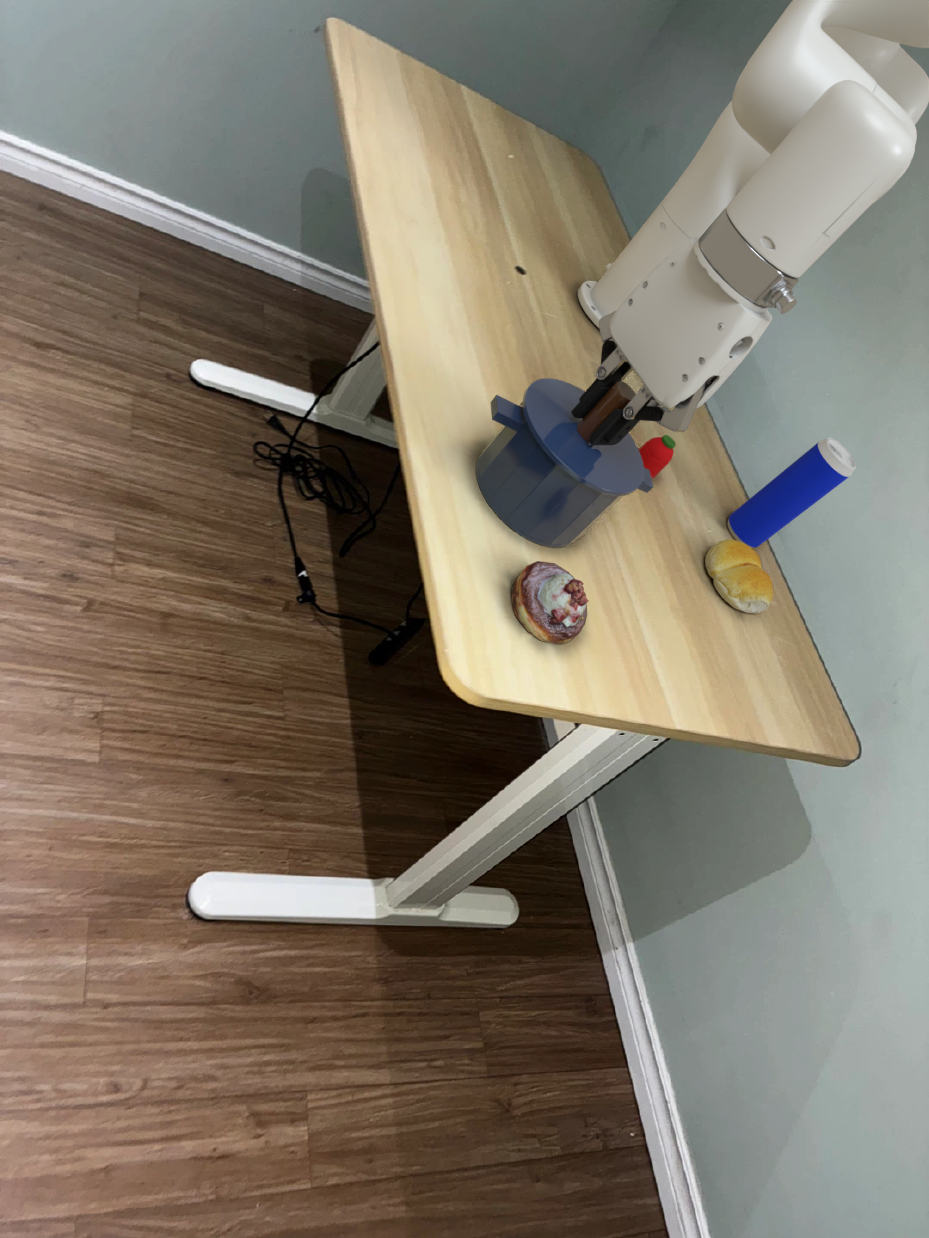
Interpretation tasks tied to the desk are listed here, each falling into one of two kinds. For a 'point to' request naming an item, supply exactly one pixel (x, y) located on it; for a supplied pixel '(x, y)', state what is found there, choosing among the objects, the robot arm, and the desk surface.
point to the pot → (536, 484)
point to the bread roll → (739, 576)
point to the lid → (583, 435)
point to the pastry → (549, 602)
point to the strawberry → (657, 453)
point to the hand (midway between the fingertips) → (592, 428)
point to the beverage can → (792, 492)
